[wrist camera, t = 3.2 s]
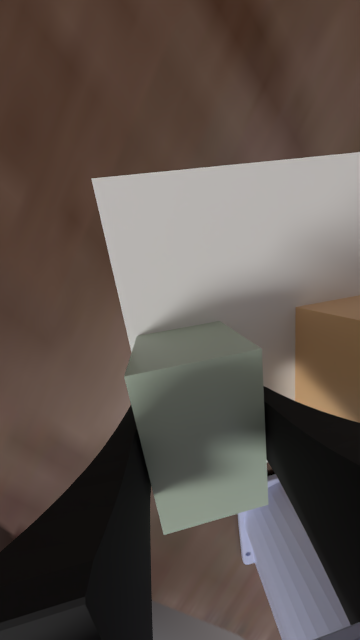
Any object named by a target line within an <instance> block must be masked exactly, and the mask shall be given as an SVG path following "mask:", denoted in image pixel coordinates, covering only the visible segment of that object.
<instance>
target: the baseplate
mask: <svg viewBox="0 0 360 640" xmlns="http://www.w3.org/2000/svg"><path fill="white" fill-rule="evenodd" d="M92 183H93V187H94V192H95V196H96V200H97V205H98V209H99V213H100V218H101V222H102V226H103V231H104V235H105V239H106V244H107V248H108V252H109V257H110V261H111V265H112V270H113V274H114V278H115V283H116V287H117V291H118V296H119V300H120V304H121V309H122V313H123V317H124V322H125V326H126V330H127V335H128V339H129V343H130V348H131V352H132V350H133V347H134V344H135V340H136V337H137V336H140V335H145V334H151V333H156V332H162V331H167V330H173V329H178V328H184V327H189V326H194V325H200V324H205V323H211V322H216V321H221V322H222V323H224V324H225V325H227V326H228V327H230V328H231V329H233V330H234V331H236V332H237V333H239V334H240V335H242V336H243V337H245V338H246V339H248V340H249V341H251V342H252V343H254V344H255V345H257V346H258V347H260V348H261V349H262V365H263V386H265V387H267V388H269V389H271V390H273V391H275V392H277V393H279V394H281V395H283V396H285V397H287V398H290V399H292V400H294V401H295V315H296V307H299V306H304V305H310V304H315V303H320V302H326V301H331V300H337V299H342V298H348V297H353V296H359V295H360V152H358V153H347V154H337V155H327V156H317V157H307V158H296V159H286V160H276V161H266V162H256V163H246V164H235V165H225V166H215V167H205V168H195V169H185V170H174V171H164V172H154V173H144V174H134V175H124V176H113V177H103V178H93V179H92ZM267 462H268V461H267Z"/></svg>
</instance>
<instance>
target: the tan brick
mask: <svg viewBox="0 0 360 640" xmlns="http://www.w3.org/2000/svg"><path fill="white" fill-rule="evenodd" d="M295 401H296V402H299V403H301V404H304V405H306V406H309V407H312V408H314V409H317V410H320V411H323V412H326V413H329V414H332V415H335V416H338V417H341V418H345V419H348V420H351V421H355V422H359V423H360V295H359V296H353V297H348V298H342V299H337V300H331V301H326V302H320V303H315V304H310V305H304V306H299V307H296V315H295Z"/></svg>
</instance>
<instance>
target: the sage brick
mask: <svg viewBox="0 0 360 640" xmlns="http://www.w3.org/2000/svg"><path fill="white" fill-rule="evenodd" d="M124 378H125V382H126V386H127V390H128V394H129V398H130V402H131V406H132V410H133V414H134V418H135V422H136V426H137V430H138V434H139V438H140V442H141V446H142V450H143V454H144V458H145V462H146V466H147V470H148V474H149V478H150V482H151V486H152V490H153V494H154V498H155V502H156V505H157V509H158V513H159V517H160V521H161V525H162V529H163V533H164V535H166V534H169V533H173V532H176V531H179V530H183V529H186V528H190V527H193V526H197V525H200V524H204V523H207V522H210V521H214V520H217V519H221V518H224V517H228V516H231V515H235V514H238V513H241V512H245V511H248V510H252V509H255V508H259V507H262V506H266V505H268V482H267V459H266V435H265V412H264V388H263V365H262V349H261V348H260V347H258V346H257V345H255V344H254V343H252V342H251V341H249V340H248V339H246V338H245V337H243V336H242V335H240V334H239V333H237V332H236V331H234V330H233V329H231V328H230V327H228V326H227V325H225V324H224V323H222V322H221V321H216V322H211V323H205V324H200V325H194V326H189V327H184V328H178V329H173V330H167V331H162V332H156V333H151V334H145V335H140V336H137V337H136V340H135V344H134V347H133V350H132V353H131V356H130V360H129V363H128V366H127V369H126V372H125V376H124Z"/></svg>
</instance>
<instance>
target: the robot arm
mask: <svg viewBox="0 0 360 640" xmlns="http://www.w3.org/2000/svg"><path fill="white" fill-rule="evenodd" d="M263 388H264V412H265V435H266V459H267V461H268V462H269V464H270V466H271V467H272V469H273V471H274V472H275V474H274V475H270V476H267V482H268V505H266V506H262V507H259V508H255V509H252V510H248V511H245V512H241V513H238V524H239V534H240V544H241V553H242V559H243V562H244V564H246V565H248V564H252V563H255V564H256V567H257V570H258V573H259V576H260V578H261V581H262V584H263V587H264V590H265V593H266V595H267V598H268V601H269V604H270V607H271V610H272V613H273V615H274V618H275V621H276V624H277V627H278V630H279V632H280V635H281V638H282V640H360V423H359V422H355V421H351V420H348V419H345V418H341V417H338V416H335V415H332V414H329V413H326V412H323V411H320V410H317V409H314V408H312V407H309V406H306V405H304V404H301V403H299V402H296V401H294V400H292V399H290V398H287V397H285V396H283V395H281V394H279V393H277V392H275V391H273V390H271V389H269V388H267V387H265V386H263ZM150 493H151V482H150V478H149V474H148V470H147V466H146V462H145V458H144V454H143V450H142V446H141V442H140V438H139V434H138V430H137V426H136V422H135V418H134V414H133V410H132V406H130V408H129V409H128V411H127V413H126V414H125V416H124V418H123V419H122V421H121V422H120V424H119V426H118V427H117V429H116V430H115V432H114V433H113V435H112V436H111V437H110V439H109V440H108V442H107V443H106V445H105V446H104V447H103V449H102V450H101V451H100V453H99V454H98V455H97V456H96V458H95V459H94V460H93V461H92V463H91V464H90V465H89V466H88V467H87V468H86V470H85V471H84V472H83V473H82V474H81V475H80V476H79V477H78V478H77V479H76V480H75V482H74V483H73V484H72V485H71V486H70V487H69V488H68V489H67V490H66V491H65V492H64V493H63V494H62V495H61V496H60V497H59V498H58V499H57V500H56V501H55V502H54V503H53V504H52V505H51V506H50V507H49V508H48V509H47V510H46V511H45V512H44V513H43V514H42V515H41V516H40V517H39V518H38V519H37V520H36V521H35V522H34V523H32V524H31V525H30V526H29V527H28V528H27V529H26V530H25V531H24V532H22V533H21V534H20V535H19V536H18V537H17V538H16V539H15V540H13V541H12V542H11V543H10V544H9V545H8V546H7V547H6V548H4V549H3V550H2V551H1V552H0V640H153V636H152V635H153V634H152V599H151V554H150Z"/></svg>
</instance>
